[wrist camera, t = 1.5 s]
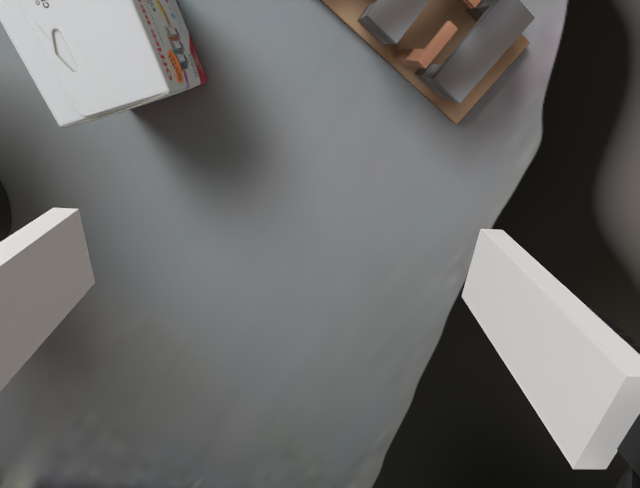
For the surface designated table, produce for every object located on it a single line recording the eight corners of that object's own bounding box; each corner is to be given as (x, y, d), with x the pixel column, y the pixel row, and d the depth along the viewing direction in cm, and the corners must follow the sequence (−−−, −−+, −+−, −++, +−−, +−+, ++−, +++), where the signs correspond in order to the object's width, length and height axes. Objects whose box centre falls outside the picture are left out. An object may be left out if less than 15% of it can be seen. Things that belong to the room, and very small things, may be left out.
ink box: (210, 83, 37) (173, 97, 26) (127, 109, 37) (58, 134, 27) (170, -23, 33) (107, -57, 22) (78, 9, 34) (-25, -9, 23)
